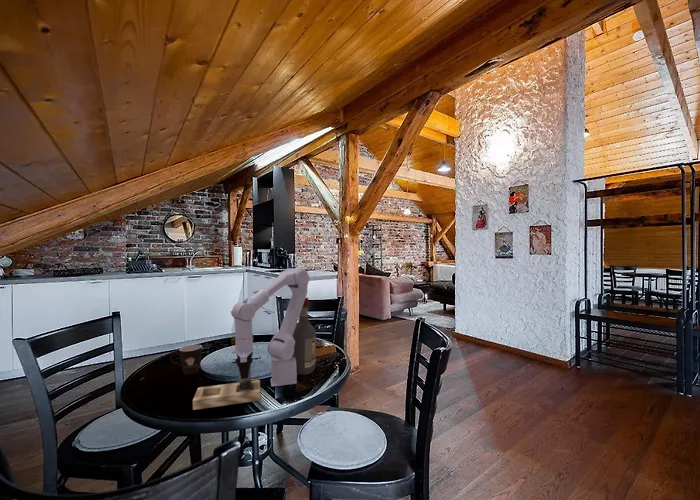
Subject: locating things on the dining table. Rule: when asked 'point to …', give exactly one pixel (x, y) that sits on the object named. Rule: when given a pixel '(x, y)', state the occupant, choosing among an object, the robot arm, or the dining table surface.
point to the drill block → (225, 395)
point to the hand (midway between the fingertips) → (245, 375)
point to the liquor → (304, 343)
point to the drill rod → (245, 381)
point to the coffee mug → (189, 358)
